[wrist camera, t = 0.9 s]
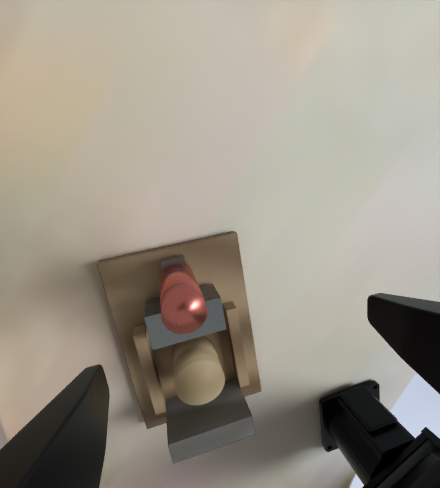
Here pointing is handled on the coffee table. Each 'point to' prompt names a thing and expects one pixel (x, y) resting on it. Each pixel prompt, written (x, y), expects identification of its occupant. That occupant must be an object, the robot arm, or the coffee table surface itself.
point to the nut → (197, 371)
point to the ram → (182, 306)
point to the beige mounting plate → (160, 360)
